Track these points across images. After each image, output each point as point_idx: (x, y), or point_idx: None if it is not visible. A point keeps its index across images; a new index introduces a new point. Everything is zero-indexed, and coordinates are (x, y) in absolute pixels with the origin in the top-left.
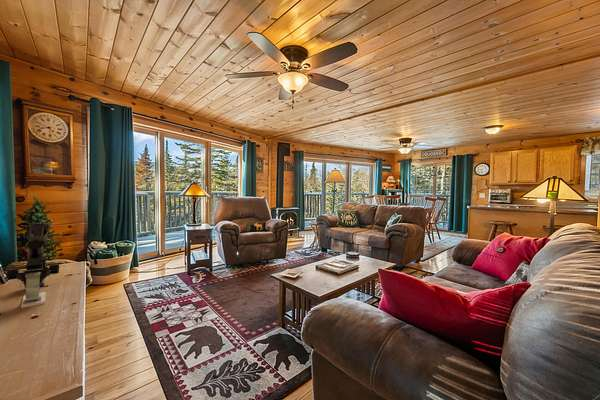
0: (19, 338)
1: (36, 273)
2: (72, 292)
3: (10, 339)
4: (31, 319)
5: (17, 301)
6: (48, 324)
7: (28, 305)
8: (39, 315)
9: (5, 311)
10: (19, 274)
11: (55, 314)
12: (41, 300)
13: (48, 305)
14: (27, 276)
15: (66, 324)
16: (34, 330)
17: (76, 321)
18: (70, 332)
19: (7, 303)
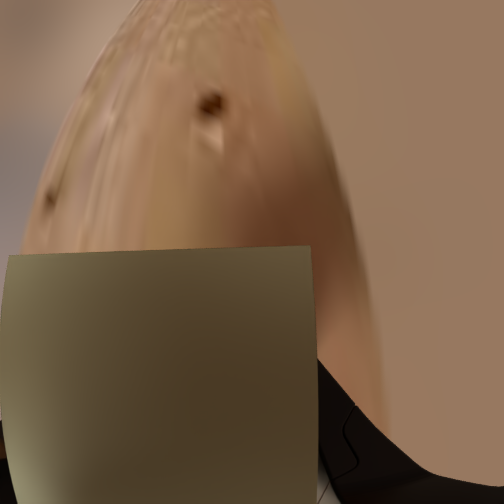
0: (247, 7)
1: (59, 446)
2: None
3: (266, 9)
4: (224, 88)
5: None
6: (178, 38)
7: None
8: (194, 112)
9: (368, 283)
10: (499, 489)
11: (142, 97)
12: None
13: (145, 242)
14: (281, 248)
15: (141, 29)
16: (215, 23)
17: (116, 37)
18: (148, 3)
19: None
